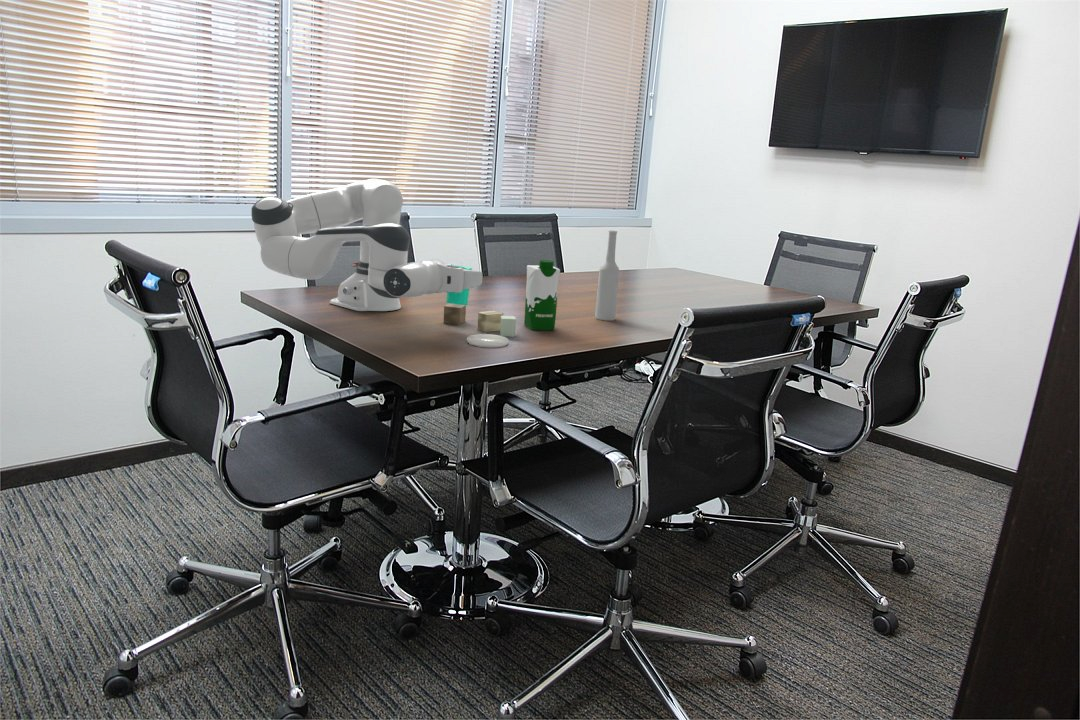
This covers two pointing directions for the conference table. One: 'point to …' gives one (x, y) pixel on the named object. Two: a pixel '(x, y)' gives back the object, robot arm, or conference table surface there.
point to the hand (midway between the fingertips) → (462, 271)
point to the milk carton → (541, 296)
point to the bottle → (608, 283)
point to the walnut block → (454, 313)
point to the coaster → (487, 340)
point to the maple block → (489, 321)
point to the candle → (459, 294)
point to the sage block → (507, 326)
